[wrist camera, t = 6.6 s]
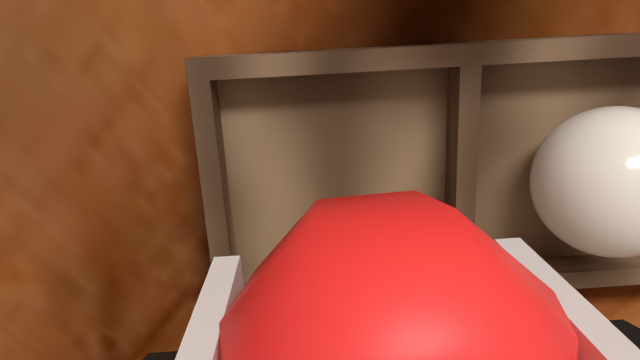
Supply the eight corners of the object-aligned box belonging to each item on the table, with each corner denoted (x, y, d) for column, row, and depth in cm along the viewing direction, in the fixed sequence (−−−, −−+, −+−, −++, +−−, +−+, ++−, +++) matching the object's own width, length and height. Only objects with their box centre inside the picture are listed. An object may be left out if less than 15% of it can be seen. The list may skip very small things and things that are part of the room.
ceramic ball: (502, 227, 27) (569, 292, 20) (510, 100, 25) (588, 125, 18) (626, 219, 27) (734, 280, 20) (644, 92, 25) (770, 115, 18)
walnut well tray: (224, 289, 28) (217, 313, 26) (195, 56, 24) (184, 58, 22) (667, 259, 29) (701, 280, 26) (707, 28, 25) (751, 28, 22)
